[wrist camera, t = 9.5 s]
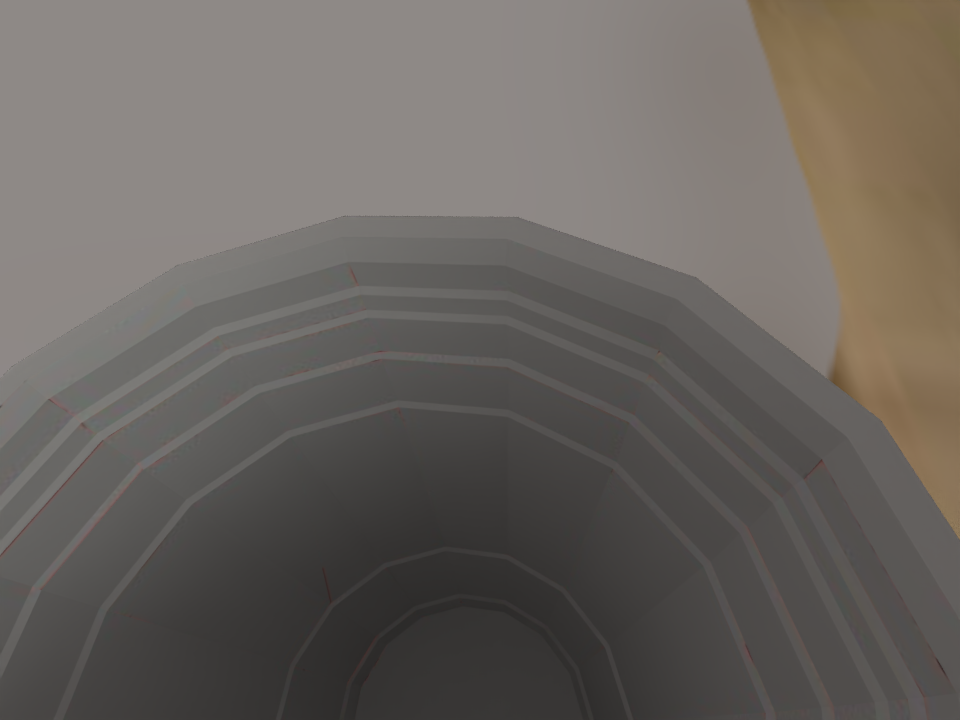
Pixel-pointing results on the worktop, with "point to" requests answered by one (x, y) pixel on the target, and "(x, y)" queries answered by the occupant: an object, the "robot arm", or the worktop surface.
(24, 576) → the plastic cup
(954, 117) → the worktop surface
